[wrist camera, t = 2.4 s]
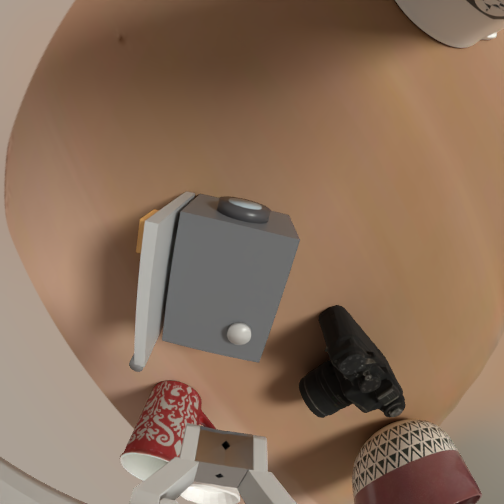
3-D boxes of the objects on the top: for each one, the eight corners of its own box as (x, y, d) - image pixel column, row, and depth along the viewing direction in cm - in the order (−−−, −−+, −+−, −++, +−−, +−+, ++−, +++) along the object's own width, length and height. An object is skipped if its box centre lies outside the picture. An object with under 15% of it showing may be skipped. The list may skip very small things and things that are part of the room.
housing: (201, 183, 29) (180, 199, 21) (291, 205, 29) (304, 229, 21) (180, 298, 33) (160, 344, 25) (258, 316, 34) (259, 366, 26)
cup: (181, 437, 43) (171, 483, 34) (240, 440, 42) (237, 488, 33) (191, 462, 46) (184, 503, 37) (243, 465, 46) (241, 508, 37)
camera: (270, 344, 35) (273, 406, 26) (344, 294, 33) (371, 348, 23) (329, 399, 39) (341, 453, 29) (392, 360, 36) (418, 411, 27)
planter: (420, 379, 38) (475, 487, 18) (447, 420, 43) (486, 499, 23) (319, 440, 43) (336, 549, 22) (367, 467, 47) (386, 549, 27)
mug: (145, 406, 40) (121, 475, 27) (147, 367, 37) (116, 444, 24) (224, 426, 41) (217, 499, 28) (238, 390, 38) (232, 473, 25)
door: (179, 189, 29) (134, 218, 18) (195, 193, 29) (158, 223, 18) (162, 301, 33) (126, 368, 22) (175, 304, 33) (144, 373, 22)
